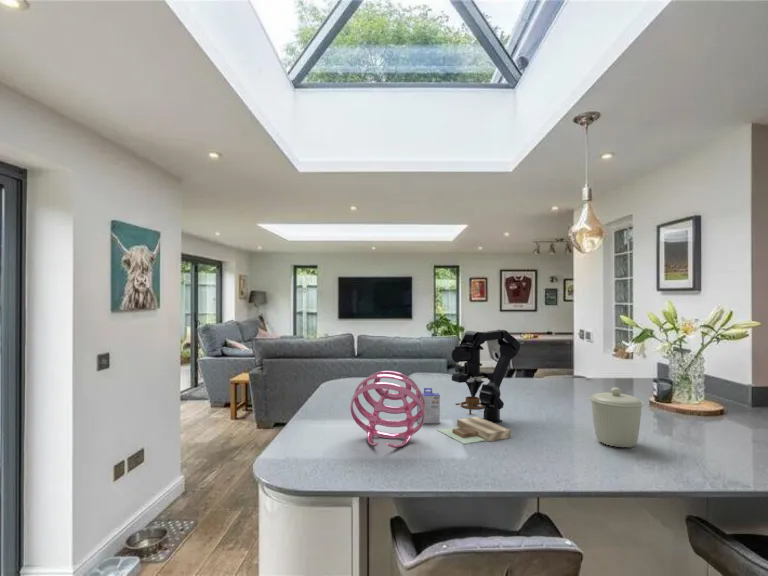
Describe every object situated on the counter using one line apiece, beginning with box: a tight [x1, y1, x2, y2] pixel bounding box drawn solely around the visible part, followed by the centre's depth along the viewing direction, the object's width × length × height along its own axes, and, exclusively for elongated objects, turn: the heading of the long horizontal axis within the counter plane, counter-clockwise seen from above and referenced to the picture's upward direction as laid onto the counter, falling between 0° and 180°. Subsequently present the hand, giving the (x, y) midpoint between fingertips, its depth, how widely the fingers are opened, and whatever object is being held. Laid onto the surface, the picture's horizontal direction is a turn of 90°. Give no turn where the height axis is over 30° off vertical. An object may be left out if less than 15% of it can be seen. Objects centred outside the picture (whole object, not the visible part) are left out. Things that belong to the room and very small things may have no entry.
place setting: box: [455, 395, 484, 415], centre depth 209 cm, size 18×20×6 cm
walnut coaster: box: [453, 427, 478, 438], centre depth 167 cm, size 7×7×2 cm
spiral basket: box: [349, 370, 425, 449], centre depth 157 cm, size 28×28×27 cm
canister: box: [589, 387, 645, 448], centre depth 158 cm, size 18×18×21 cm
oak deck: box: [456, 416, 512, 442], centre depth 171 cm, size 11×20×3 cm, turn 26°
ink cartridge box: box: [416, 387, 441, 424], centre depth 184 cm, size 10×6×14 cm, turn 90°
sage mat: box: [437, 426, 486, 445], centre depth 166 cm, size 10×18×1 cm, turn 26°
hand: (473, 397), depth 180 cm, fingers closed
